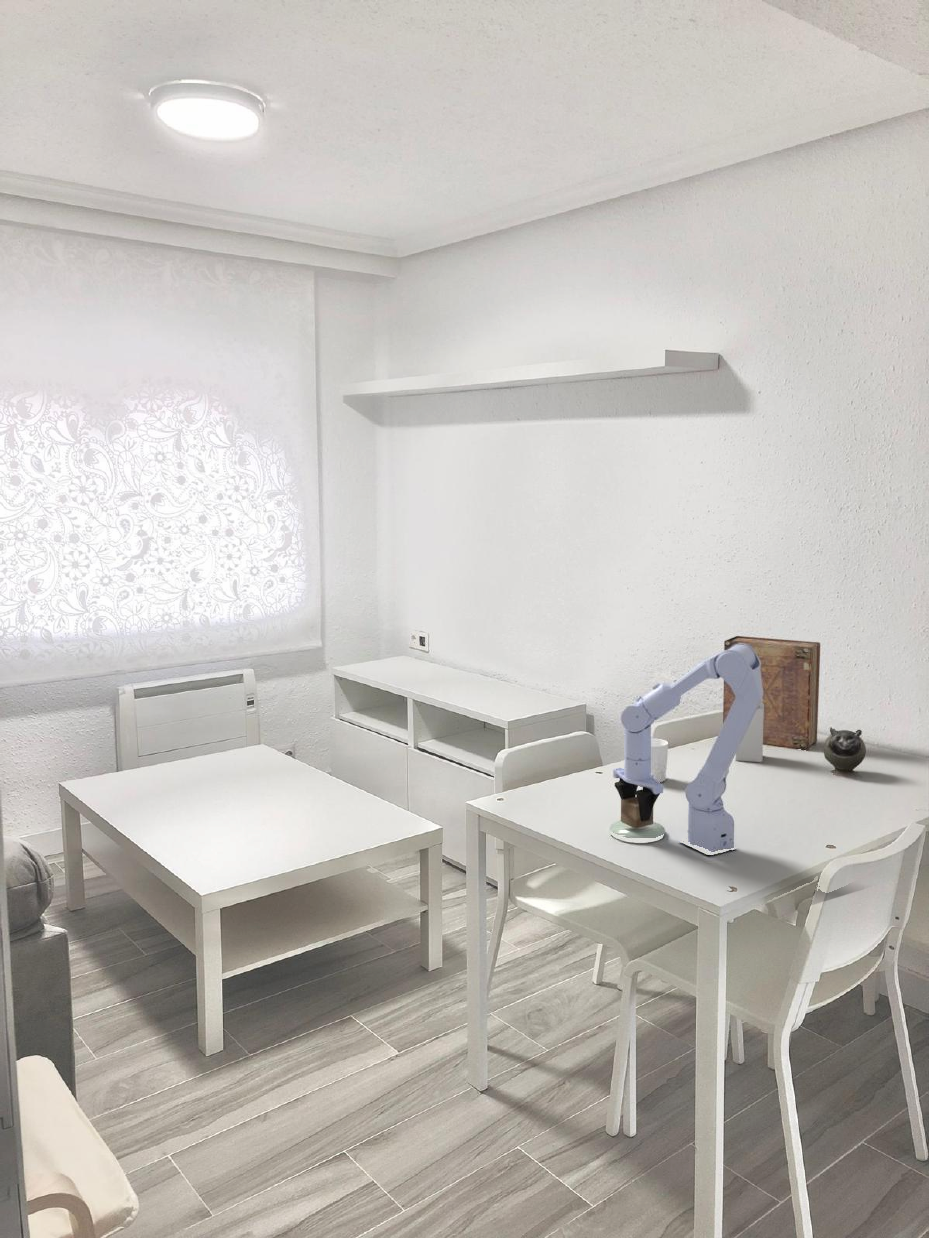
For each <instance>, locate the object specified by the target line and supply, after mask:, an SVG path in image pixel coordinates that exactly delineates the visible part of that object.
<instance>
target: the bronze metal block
mask: <svg viewBox="0 0 929 1238" xmlns="http://www.w3.org/2000/svg"><path fill="white" fill-rule="evenodd" d="M620 820H621V822H622V823H625V824H627V825H629V826H631V827H633V828H640V827H644V826H648V825H652V824H653V822H654V808H653V809H652V813H651V816H650V820H647V821H641V819H640V812H639V803H638V799H637V796H636V797H632V798H628V799H624V800H621V799H620Z"/></svg>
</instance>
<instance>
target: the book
mask: <svg viewBox="0 0 929 1238" xmlns="http://www.w3.org/2000/svg"><path fill="white" fill-rule="evenodd" d="M739 643H743V644H747V645H749V646H750V647H752V648H753V649H754V651H755V652H756V654H757V656H758V658H759V659H760V661H761V668H760V671H761V679H762V687H763V697H762V699H763V702H762V703H763V704H764V720H763V746H765V745H766V746H772V747H777V748H778V747H780V748H784V749H793V750H798V749H801V750H800V751H804V750H806V752H809V750H810V746H812V745H814V744H815V745H816V744H817V743H818V723H819V699H820V696H819V694H820V692H819V691H820V669H821V667H820V666H821V643H820V642H818V641H807V640H793V639H782V638H781V639H780V638H768V637H767V638H766V637H754V636H745V635H743V636H742V635H741V636H740V635H736V636H734V637H730V638H729V639H726V640H724V648H723V649H724V650H728V649H730V648H731V647H732V646H733V645H735V644H739ZM724 650H723V651H724ZM735 698H736V697H735V695H734V693H733V691H732V689H731V687H730V686H729V685H728V684H727V683H726V681H725V680H724V679H723V703H722V704H723V709H722V710H723V712H722V713H723V714H722V717H723V718H722V725H723V724H724V722H725V719H726V717H727V715H728V713H729V711H730V709H731V707H732V704H733V702H734V700H735ZM813 743H814V744H813Z"/></svg>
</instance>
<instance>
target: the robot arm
mask: <svg viewBox="0 0 929 1238" xmlns="http://www.w3.org/2000/svg"><path fill="white" fill-rule="evenodd" d="M760 668H761V661H760V659H759V658H758V656H757V654H756V652H755V651H754V649H753V648H752V647H750V646H749V645H747V644H743V643H739V644H735V645H733V646H732V647H731V648H730V649H728V650H723V651H720V652H718V653H716V654H714V655H712V656H710V657H708V658H707V659H705V660H703V661H701V662H699V664H698V665H696V666H695V667H693V668H692V669H691V670H690V671H688V672H687V673H685V674H683V675H682V676H681V677H680V678H678V679H677V680H676V681H674V682H673V683H670V682H662V683H661V684H660V683H656V684H654V685H653V686H652V687H651V688H652V690H650V691H649V692H648V693H646V694H645V695H643V696H642V695H641V696H639V697H637V698H636V699H635V700H636V702H634V703H632V704H631V705H627V706H626V707H625V708H624V709H623V711H622V712H621V716H620V722H621V724H622V726H623V728H624V762H623V763H624V765H623V766H624V768H621V767H617V768H613V770H612V776H613V777H612V778H614V779H619V780H618V781H616V782H614V787H615V789H616V791H617V792H618V795H619V798H620V801H621V800H624V799H628V798H632V797H637V799H638V803H639V812H640V819H641V821H647V820H650V816H651V813H652V809H653V810H654V806H655V803H656V802H657V800H658V798H659V796H660V794H663V793H664V784H663V783H662V782H661V783H659V782H658V781H657V780H655V779H654V774H651V738H652V724H654V722H655V721H657V720H659V719H660V718H662V717H663V716H665V715H666V714H668V713H669V712H671V711H672V710H674V709H675V708H677V707H678V706H679V705H680V703H681V698H682V695H684V694H686V693H687V692H689V691H691V690H692V689H693V688H696V686H698V685H699V684H701V683H702V682H704V681H706V680H708V679H713V680H719V679H720V678H721V679H722V680H723V681H724V680H725V681H726V683H727V684H728V685H729V686H730V687H731V689H732V691H733V693H734V695H735V697H736V698H735V700H734V702H733V704H732V707H731V709H730V711H729V713H728V715H727V717H726V719H725V722H724V724H723V723H722V726H721V729H720V730H719V733H718V735H717V737H716V739H715V742H714V743H713V745H712V748H711V750H710V752H709V753H708V756H707V758H706V760H705V762H704V764H703V765H702V767H701V769H700V770H699V772H698V773H697V776H696V777H695V778H694V780H692V781H690V782H689V784H687V786H686V788H685V798H686V800H687V802H688V809H687V810H688V815H687V816H688V817H687V818H688V819H687V826H688V827H687V838H688V842H690V844H692V845H697V846H699V847H703V848H705V849H708V850H709V851H711V852H715V851H718V850H723V849H731V848H734V846H735V820H734V817H733V816H732V815H731V814H730V813H728V812H727V811H726V810H725V808H724V801H723V799H722V796H723V794H724V793H725V792H726V789H727V778H728V775H729V773H730V767H731V764H732V763H733V760H734V759H735V757H736V752H737V750H738V748H739V746H740V744H741V742H742V739H743V737H744V735H745V733H746V731H747V729H748V727H749V725H750V723H751V721H752V718H753V716H754V714H755V712H756V710H757V708H758V706H759V704H760V702H761V700H762V697H763V687H762V679H761V671H760ZM638 787H640V788H642V789H639V788H638Z"/></svg>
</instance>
